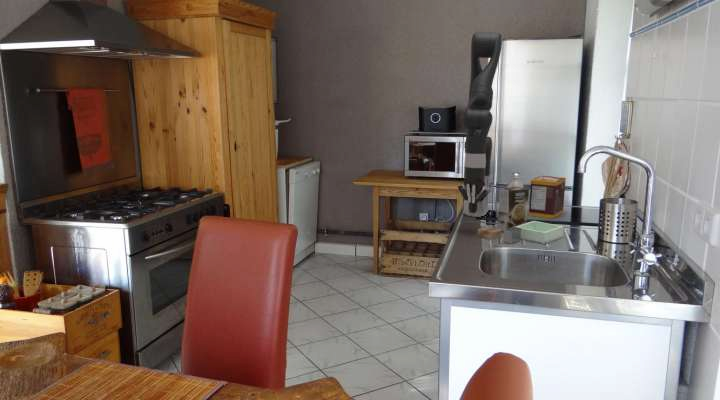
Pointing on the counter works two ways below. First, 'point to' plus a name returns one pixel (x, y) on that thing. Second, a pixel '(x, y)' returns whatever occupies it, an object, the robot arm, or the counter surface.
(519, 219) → the coffee box
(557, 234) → the green tray
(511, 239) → the block
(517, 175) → the plastic bottle
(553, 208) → the supplement box
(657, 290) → the counter surface
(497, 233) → the brown square block
